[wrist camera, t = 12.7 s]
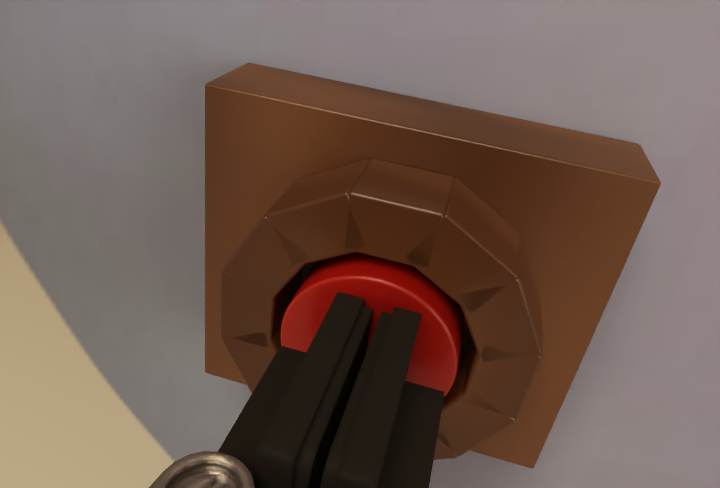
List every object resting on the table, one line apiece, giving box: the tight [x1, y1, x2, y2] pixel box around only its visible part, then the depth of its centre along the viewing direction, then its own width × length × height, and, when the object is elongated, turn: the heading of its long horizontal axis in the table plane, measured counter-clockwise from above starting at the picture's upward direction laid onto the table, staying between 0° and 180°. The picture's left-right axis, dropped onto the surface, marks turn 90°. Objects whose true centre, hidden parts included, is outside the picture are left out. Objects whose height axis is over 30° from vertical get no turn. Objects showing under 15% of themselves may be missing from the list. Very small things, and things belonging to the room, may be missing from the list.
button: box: [281, 252, 465, 397], centre depth 12 cm, size 4×4×2 cm
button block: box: [205, 63, 661, 468], centre depth 13 cm, size 9×8×4 cm
